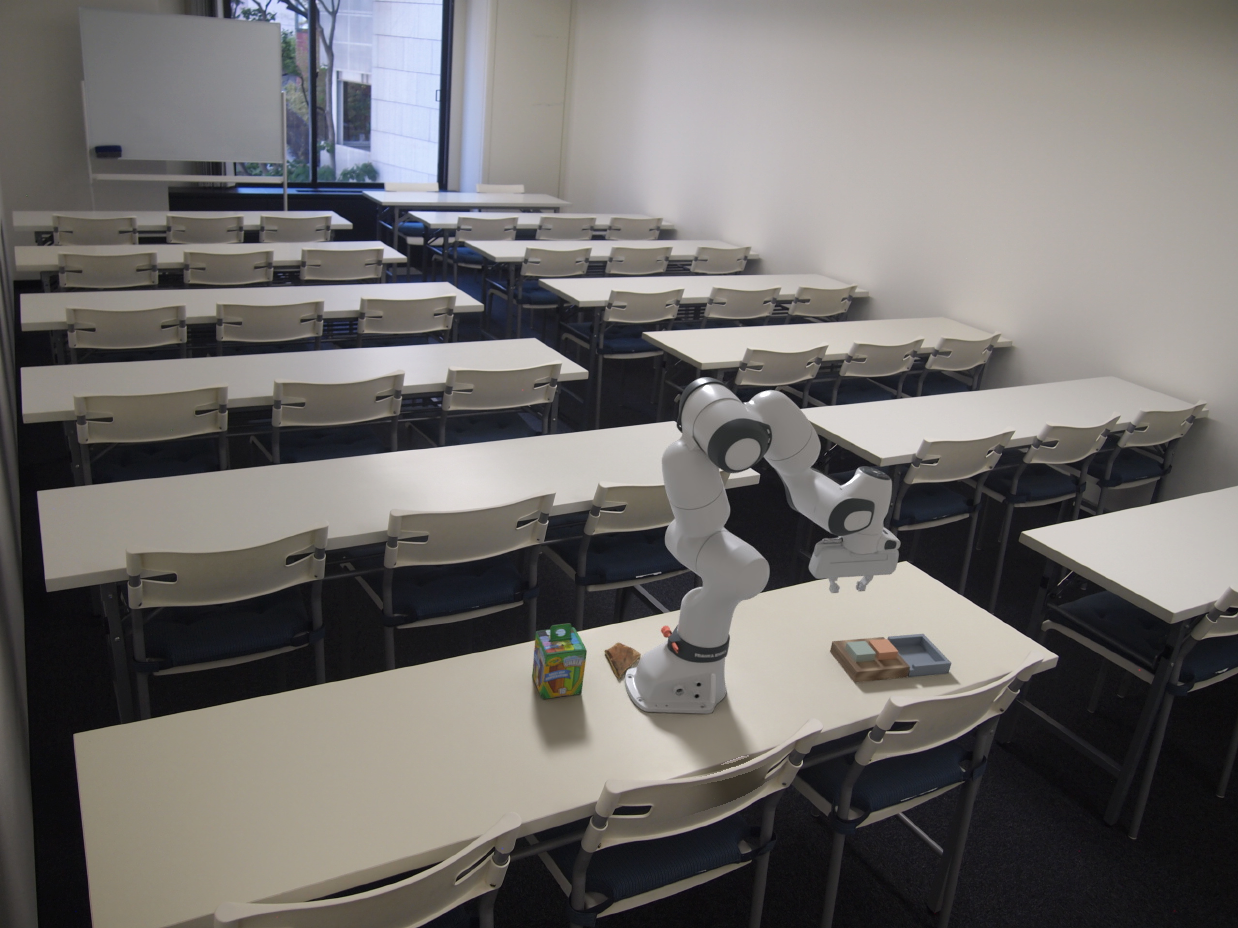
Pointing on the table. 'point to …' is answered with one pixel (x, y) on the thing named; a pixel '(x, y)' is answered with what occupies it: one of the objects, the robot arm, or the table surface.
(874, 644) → the terracotta tile
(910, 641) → the tray
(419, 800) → the table surface
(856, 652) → the sage tile
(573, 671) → the chalk box
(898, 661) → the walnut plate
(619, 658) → the shard
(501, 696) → the table surface
